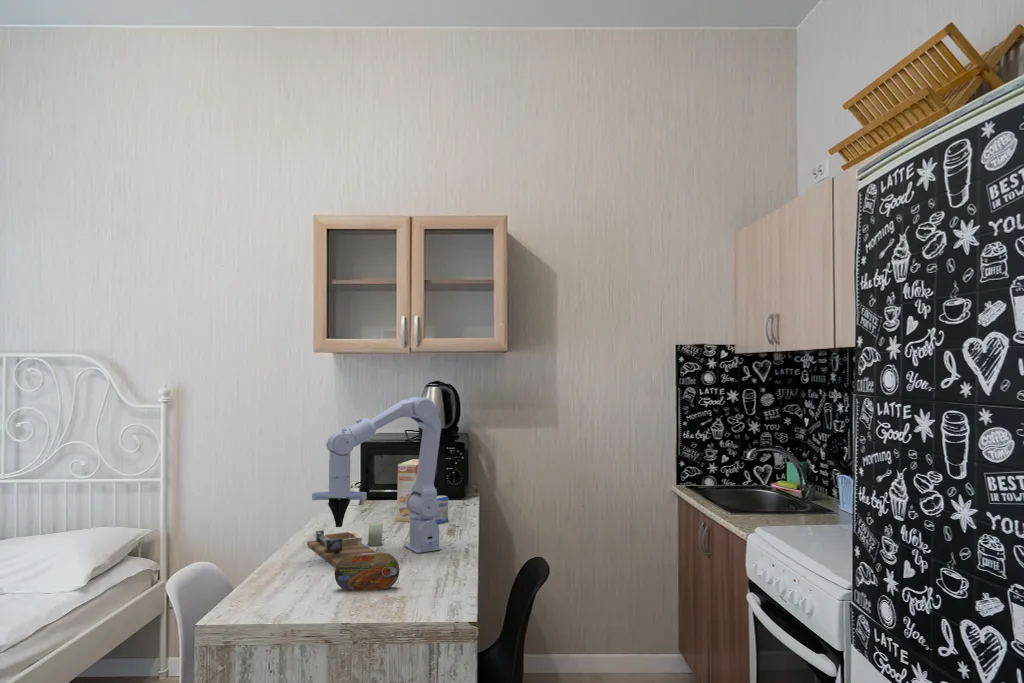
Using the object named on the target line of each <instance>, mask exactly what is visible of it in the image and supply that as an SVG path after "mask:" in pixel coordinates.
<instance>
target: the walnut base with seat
mask: <svg viewBox="0 0 1024 683" xmlns="http://www.w3.org/2000/svg"><path fill="white" fill-rule="evenodd" d="M324 536H326V537H327V538H329V539H335V538H342V551H340V552H339V553H335V552H333V551H332V550H331V547H330V553H326V552H325V543H324V542H323V541H322V542H316V540H309V541H306V542H307V543H306V544H307V545H308V546H309V547H308V546H307V545H306V546H307V547H308V548H310V549H311V550H312V551H314V552H315V553H316V555H319V556H320V557H321V558H323V559H324V560H325V561H327V562H328V563H329V564H330V565H332V566H333V567H334V568H336V566H337V564H338V563H339V561H340V560H341V559H342V558H344V557H345V556H347V555H350V554H364V553H378V552H377V551H375V550H374V549H372V548H370V547H368V546H367V545H365V544H364V543H362V538H363V537H362V536H360V535H359V534H356V533H354V531H352V530H351V531H344V532H337V533H336V532H335V533H328V534H324Z"/></svg>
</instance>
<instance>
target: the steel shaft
mask: <svg viewBox="0 0 1024 683" xmlns="http://www.w3.org/2000/svg"><path fill="white" fill-rule="evenodd" d="M318 538H319V539H320V540H321V541H323V542H324V543H325V540H327V539H329V538H327V537H326V536H325V534H324V535H323V534H319V535H318ZM330 547H331V550H332V551H333V552H335V553H339V552H340V551H341V550H342V545H341V544H340V543H338V542H332V543H330Z"/></svg>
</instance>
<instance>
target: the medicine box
mask: <svg viewBox="0 0 1024 683" xmlns="http://www.w3.org/2000/svg"><path fill="white" fill-rule="evenodd" d="M437 502H438V510H437V512H436V514H435V516H434V518H435V522H436V523H437V524H438V525H439V524H440V525H441V524H444V523H448V522H449V496H448V495H437Z"/></svg>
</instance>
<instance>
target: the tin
mask: <svg viewBox="0 0 1024 683" xmlns="http://www.w3.org/2000/svg"><path fill="white" fill-rule="evenodd" d="M334 568H335V567H334ZM399 576H400V566H399V562H398V560H397V559H396V558H395V556H394V555H392V554H391V553H387V552H377V553H364V554H350V555H347V556H345V557H344V558H342V559H341V560H340V561H339V563H338V564H337V566H336V568H335V569H334V579H335V582H336V584H337V585H338V587H339V588H341V589H342V590H344V591H346V592H362V591H363V592H364V591H365V592H366V591H368V592H369V591H384V590H387V589H389V588H391V587H392V586H394V585H395V584H396V582H398V579H399Z"/></svg>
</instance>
